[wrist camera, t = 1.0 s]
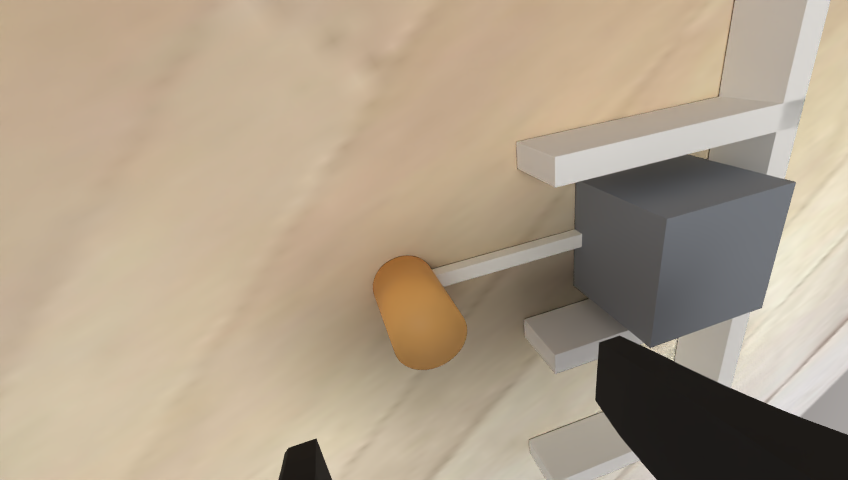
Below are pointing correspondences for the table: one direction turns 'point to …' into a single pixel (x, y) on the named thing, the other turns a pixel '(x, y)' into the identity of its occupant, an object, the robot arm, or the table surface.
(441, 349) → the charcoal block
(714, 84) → the table surface
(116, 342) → the table surface
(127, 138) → the table surface
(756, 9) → the lane rack
